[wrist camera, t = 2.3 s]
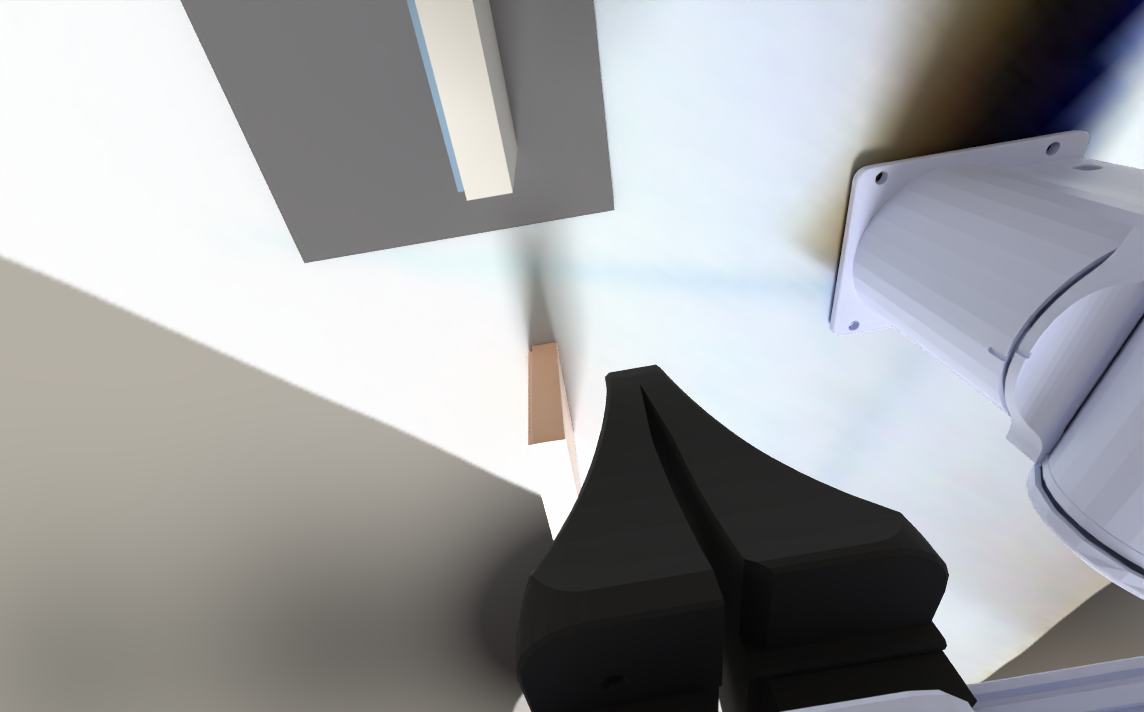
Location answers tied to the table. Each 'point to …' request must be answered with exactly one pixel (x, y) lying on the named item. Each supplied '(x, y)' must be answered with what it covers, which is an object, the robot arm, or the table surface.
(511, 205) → the mat
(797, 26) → the table surface
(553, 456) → the terracotta tile
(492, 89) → the glazed tile
